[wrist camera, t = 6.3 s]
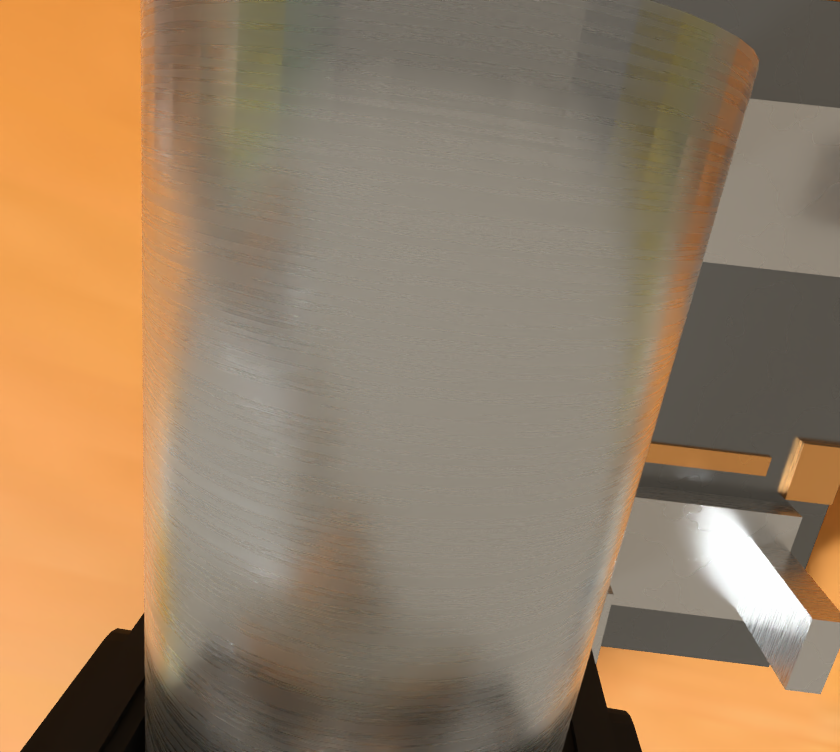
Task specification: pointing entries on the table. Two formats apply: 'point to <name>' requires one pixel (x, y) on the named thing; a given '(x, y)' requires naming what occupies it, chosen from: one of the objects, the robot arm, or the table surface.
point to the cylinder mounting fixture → (751, 384)
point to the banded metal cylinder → (407, 352)
